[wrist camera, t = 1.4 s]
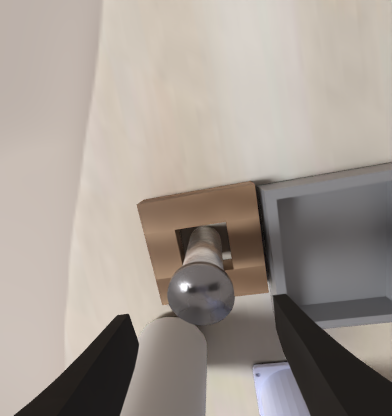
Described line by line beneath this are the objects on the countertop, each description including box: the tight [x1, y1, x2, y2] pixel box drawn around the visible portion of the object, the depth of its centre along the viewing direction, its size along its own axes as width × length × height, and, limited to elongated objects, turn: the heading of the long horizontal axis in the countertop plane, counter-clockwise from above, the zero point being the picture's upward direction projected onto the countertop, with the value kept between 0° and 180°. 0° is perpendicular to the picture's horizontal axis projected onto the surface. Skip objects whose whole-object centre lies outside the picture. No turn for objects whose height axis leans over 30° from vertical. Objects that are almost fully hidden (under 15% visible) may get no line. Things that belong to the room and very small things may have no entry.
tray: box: [257, 163, 392, 329], centre depth 19 cm, size 13×11×3 cm
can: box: [120, 317, 207, 416], centre depth 19 cm, size 8×8×12 cm
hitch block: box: [137, 181, 269, 305], centre depth 20 cm, size 10×10×2 cm
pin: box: [167, 226, 235, 325], centre depth 17 cm, size 4×4×9 cm
